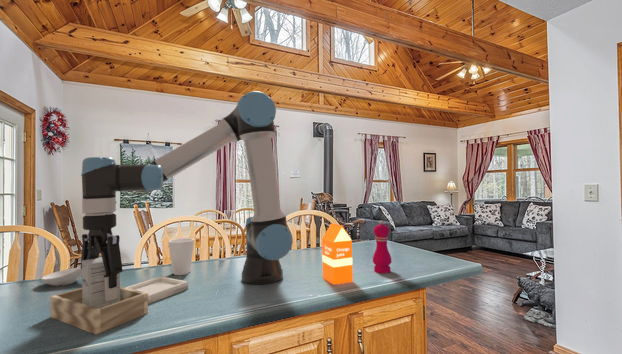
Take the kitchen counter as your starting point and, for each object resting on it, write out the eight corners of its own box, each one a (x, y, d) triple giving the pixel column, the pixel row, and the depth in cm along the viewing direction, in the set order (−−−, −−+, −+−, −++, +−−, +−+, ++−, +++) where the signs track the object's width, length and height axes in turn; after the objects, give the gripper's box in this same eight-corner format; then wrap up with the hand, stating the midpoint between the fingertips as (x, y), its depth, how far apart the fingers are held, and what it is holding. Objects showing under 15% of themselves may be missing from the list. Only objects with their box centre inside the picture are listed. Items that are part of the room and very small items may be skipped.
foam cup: (198, 269, 124) (198, 238, 125) (186, 276, 115) (186, 242, 116) (176, 269, 125) (176, 238, 126) (163, 276, 116) (163, 242, 116)
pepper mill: (394, 270, 119) (393, 219, 120) (388, 275, 113) (387, 221, 114) (376, 267, 123) (375, 218, 124) (370, 272, 117) (369, 220, 117)
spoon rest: (33, 291, 102) (33, 269, 103) (52, 280, 114) (52, 261, 114) (112, 283, 109) (112, 263, 109) (123, 274, 120) (123, 256, 120)
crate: (147, 313, 82) (147, 293, 82) (95, 334, 71) (95, 311, 71) (102, 300, 92) (102, 282, 92) (50, 316, 81) (50, 296, 81)
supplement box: (81, 306, 82) (81, 260, 82) (113, 298, 87) (112, 254, 87) (88, 314, 77) (87, 264, 77) (121, 305, 82) (120, 258, 82)
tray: (188, 288, 101) (188, 281, 101) (149, 303, 89) (149, 295, 89) (161, 283, 108) (161, 276, 108) (121, 296, 95) (121, 288, 95)
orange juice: (333, 285, 103) (332, 226, 103) (322, 277, 111) (321, 223, 111) (353, 281, 106) (352, 225, 107) (340, 274, 114) (339, 222, 115)
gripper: (137, 213, 81) (138, 298, 80) (93, 211, 90) (95, 287, 90) (107, 216, 74) (109, 309, 74) (64, 214, 84) (65, 296, 83)
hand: (101, 297), depth 82 cm, fingers closed on supplement box, 8 cm apart
